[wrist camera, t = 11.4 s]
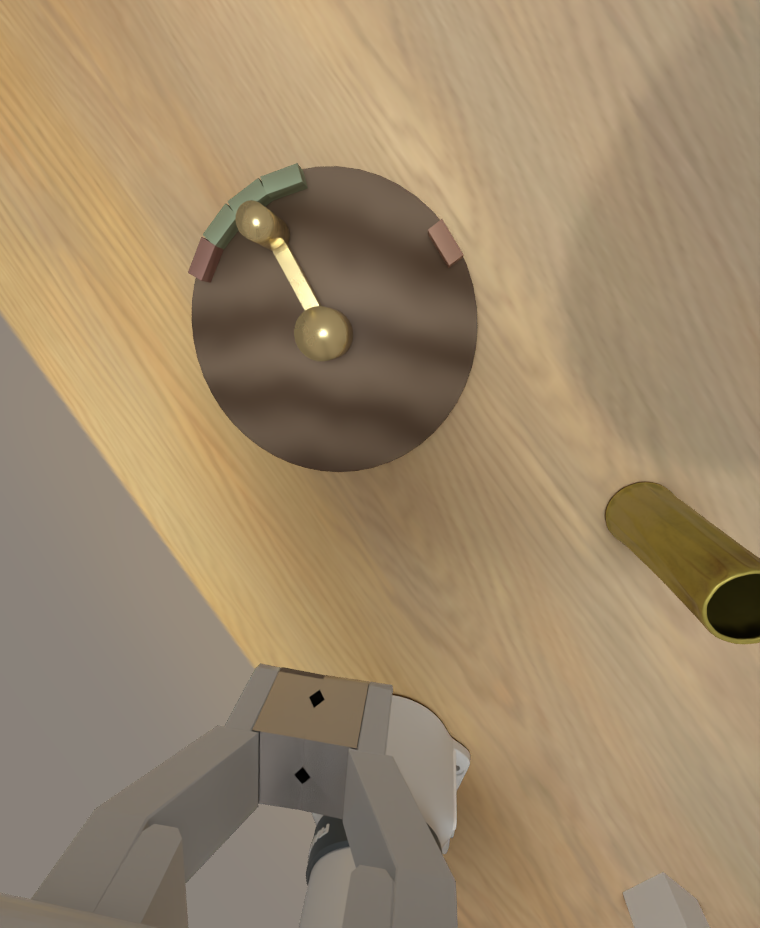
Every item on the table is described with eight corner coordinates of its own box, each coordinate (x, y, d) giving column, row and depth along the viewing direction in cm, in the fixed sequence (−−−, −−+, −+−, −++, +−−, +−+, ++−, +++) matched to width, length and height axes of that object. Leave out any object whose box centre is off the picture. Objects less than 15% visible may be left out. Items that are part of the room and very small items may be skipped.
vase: (590, 506, 39) (674, 598, 26) (653, 467, 38) (778, 543, 24) (627, 555, 40) (726, 667, 27) (690, 519, 39) (829, 619, 25)
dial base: (453, 479, 40) (455, 493, 37) (207, 450, 42) (188, 460, 39) (497, 185, 33) (505, 168, 30) (198, 166, 35) (173, 148, 32)
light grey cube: (696, 897, 52) (729, 967, 46) (654, 917, 54) (681, 986, 48) (662, 870, 51) (691, 938, 46) (621, 891, 53) (644, 958, 47)
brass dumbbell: (361, 344, 35) (352, 345, 31) (320, 367, 36) (306, 372, 32) (284, 198, 33) (262, 178, 29) (242, 227, 34) (215, 212, 30)
